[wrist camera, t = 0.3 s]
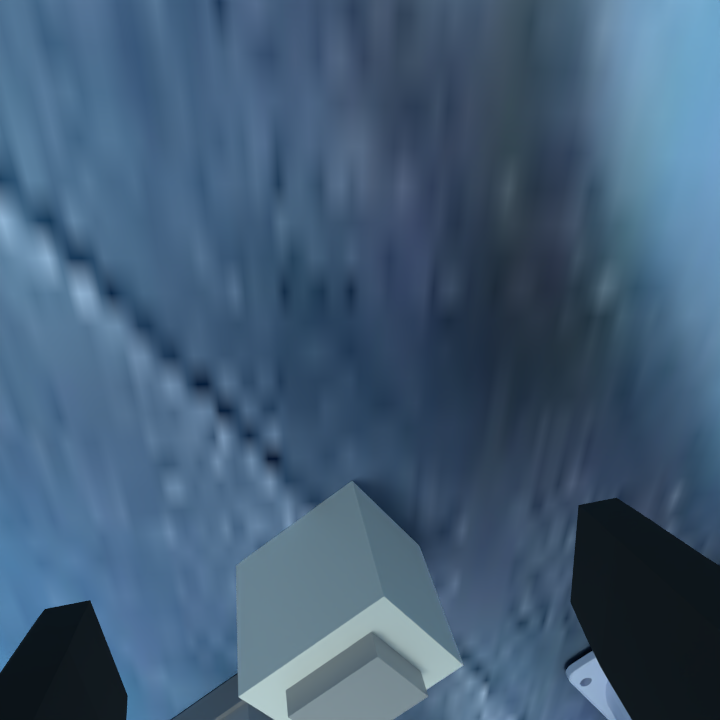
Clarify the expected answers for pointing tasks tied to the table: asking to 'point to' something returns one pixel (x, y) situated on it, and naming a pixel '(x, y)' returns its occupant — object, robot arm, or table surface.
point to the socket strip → (223, 706)
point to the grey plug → (340, 618)
